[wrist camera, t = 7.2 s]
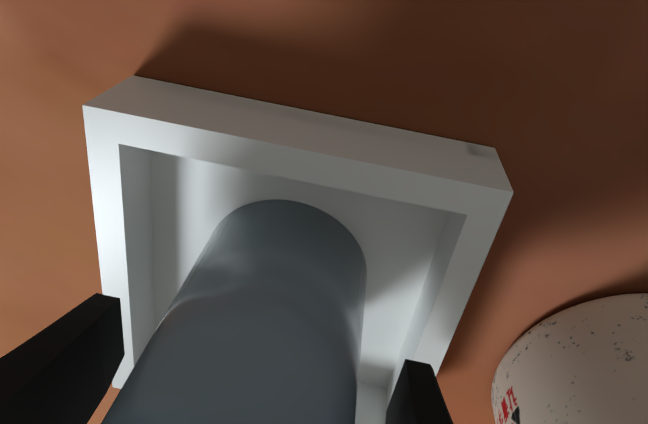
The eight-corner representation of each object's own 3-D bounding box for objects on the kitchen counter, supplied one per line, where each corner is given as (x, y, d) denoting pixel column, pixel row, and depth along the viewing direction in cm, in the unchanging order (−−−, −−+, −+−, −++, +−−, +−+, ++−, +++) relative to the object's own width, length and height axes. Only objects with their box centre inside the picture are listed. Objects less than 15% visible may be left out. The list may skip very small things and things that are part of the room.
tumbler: (383, 219, 14) (373, 452, 8) (349, 342, 16) (323, 588, 10) (210, 183, 14) (68, 386, 8) (204, 311, 16) (94, 537, 10)
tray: (494, 147, 13) (514, 192, 11) (403, 388, 18) (404, 450, 16) (132, 75, 13) (82, 105, 11) (144, 333, 19) (112, 387, 16)
